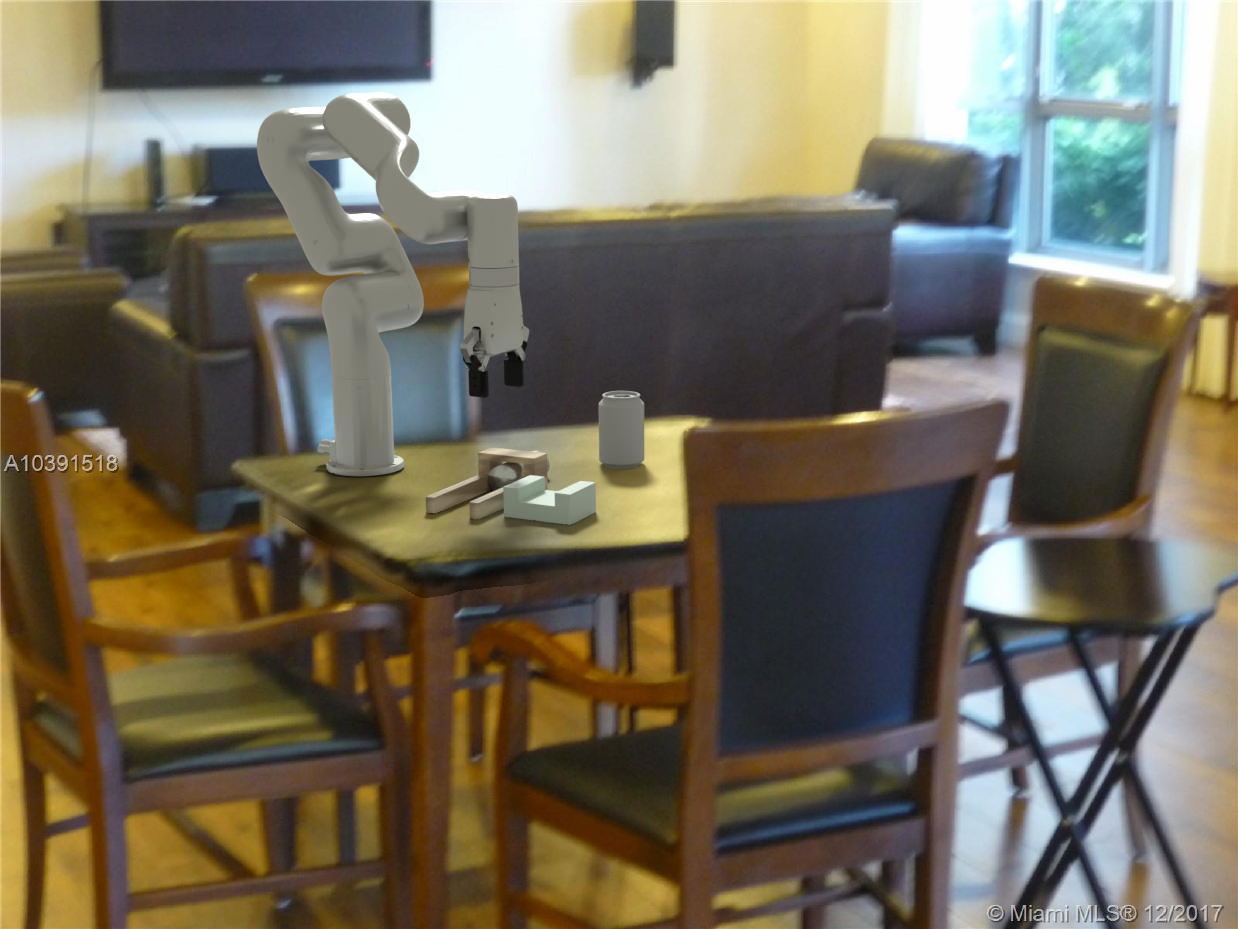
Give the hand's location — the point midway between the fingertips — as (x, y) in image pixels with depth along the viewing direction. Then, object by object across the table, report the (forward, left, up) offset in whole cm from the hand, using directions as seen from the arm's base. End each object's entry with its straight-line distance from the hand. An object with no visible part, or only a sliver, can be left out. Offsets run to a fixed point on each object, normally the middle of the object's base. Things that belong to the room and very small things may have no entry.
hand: (496, 391), depth 259 cm
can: (+8, +26, -16) cm, 32 cm away
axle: (0, +8, -16) cm, 18 cm away
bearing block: (0, -4, -16) cm, 17 cm away
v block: (+13, -7, -16) cm, 22 cm away
